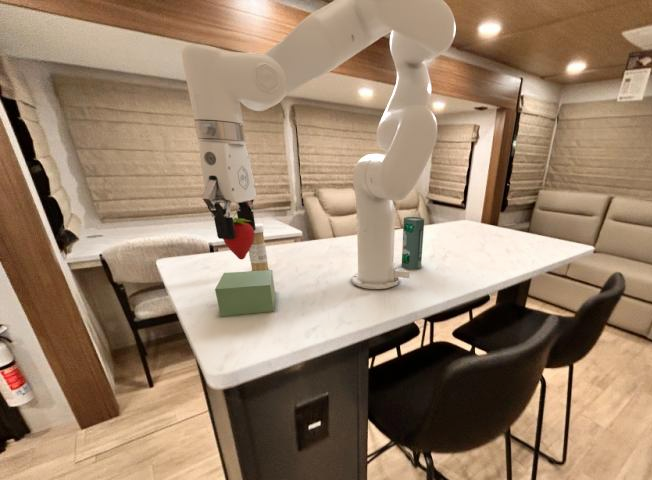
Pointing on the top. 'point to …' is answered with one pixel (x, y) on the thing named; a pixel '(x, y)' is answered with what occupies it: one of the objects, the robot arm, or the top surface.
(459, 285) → the top surface
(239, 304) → the green block
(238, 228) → the strawberry
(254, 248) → the sprinkles bottle
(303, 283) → the top surface
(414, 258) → the can
